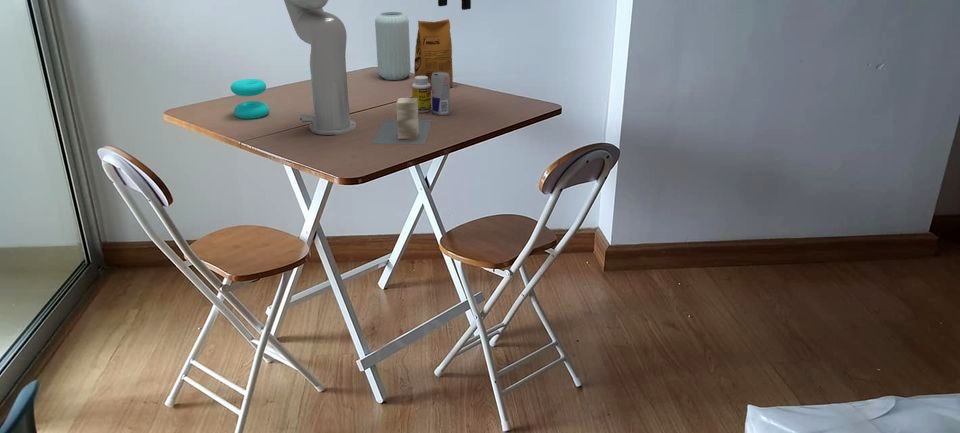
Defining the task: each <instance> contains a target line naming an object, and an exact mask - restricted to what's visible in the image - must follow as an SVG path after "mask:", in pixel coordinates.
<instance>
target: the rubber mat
mask: <svg viewBox="0 0 960 433" xmlns="http://www.w3.org/2000/svg"><path fill="white" fill-rule="evenodd" d="M432 123H433V119H418V126H419V135H418V138H417V140H398V128H397V119H383V120H382V122H381V124H380V126H379V129H378V130H377V133H376V135H375V136H374V138H373V140H372V142H371V145H426V142H427V139H428V136H429V132H430V128H431V127H432V126H431V125H432Z"/></svg>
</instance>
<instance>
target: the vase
mask: <svg viewBox="0 0 960 433" xmlns="http://www.w3.org/2000/svg"><path fill="white" fill-rule="evenodd" d="M409 23H410V20H409V18H408V16H407V15H406V14H405V13H403V12H401V11H384V12H380V14H378V15H377V16H376V18H375V20H374V26H375V39H376V40H375V43H376V44H375V45H376V59H377V60H376V61H377V73H378V74H379V76H381V78H383V79H384V80H388V81H400V80H403V79H406V78H407V77H408V76H409V75H410V73H411V46H410V44H411V43H410V24H409Z"/></svg>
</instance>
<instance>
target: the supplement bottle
mask: <svg viewBox="0 0 960 433" xmlns="http://www.w3.org/2000/svg"><path fill="white" fill-rule="evenodd" d="M411 86H412V87H411V89H412V90H411V91H412V92H411V94H412V98H417V99H418V114H419V113H422V114H423V113H424V114H425V113H428V112H430V111H432V88H431V85H430V83H428V77H427V76H416V77H415V76H414V82H413V83H412V85H411Z"/></svg>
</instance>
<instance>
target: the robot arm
mask: <svg viewBox="0 0 960 433" xmlns="http://www.w3.org/2000/svg"><path fill="white" fill-rule="evenodd" d="M283 2H284V5H285V7H286V10H287V13H288V15H289V19H290V21H291V24H292V27H293V28H294V29H293V30H294V31H295V33H296V35H297V37H299V39H300V40H301V41H302V42H304V43H305V44H308V45H310V55H309V70H310V78H311V80H310V81H311V88H312V99H313V111H314V112H311V113H310V114H308V113H300V114H299V120H300V121H302V123H310V128H309V129H310V131H311V132H312V133H314V134H317V135H321V136H322V135H324V136H328V135H329V136H334V135H335V136H336V135H341V134H346V133H349V132H352V131H354V130H356V128H357V124H356V122H355V121H354V120H352V119H351V114H350V113H351V112H350V102H349V101H350V98H349V91H348V77H347V76H348V74H347V61H346V57H347V56H346V48H347V30H346V26H345V25H344V24H345V23H343V21H342V20H341V19H340V18H339V17H338V16H336V15H335V14H333V13H331V12H328V11H325V10H324V9H323V8H324V7H325V6H326V5H327V3H328V2H329V0H283ZM437 6H438V7H446V6H448V0H437ZM471 6H472V0H461V10H462V11H465V10H471V9H472V7H471Z"/></svg>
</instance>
